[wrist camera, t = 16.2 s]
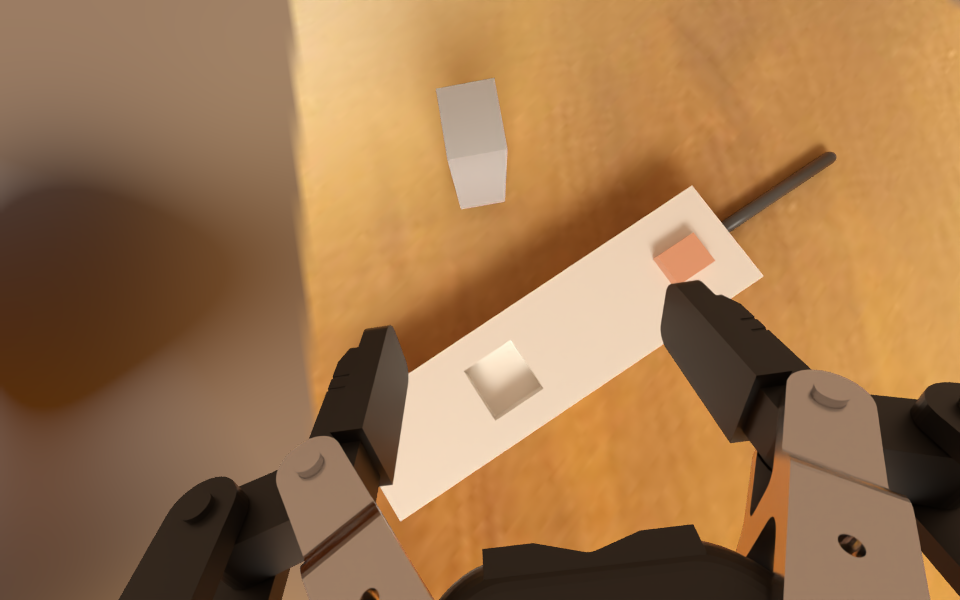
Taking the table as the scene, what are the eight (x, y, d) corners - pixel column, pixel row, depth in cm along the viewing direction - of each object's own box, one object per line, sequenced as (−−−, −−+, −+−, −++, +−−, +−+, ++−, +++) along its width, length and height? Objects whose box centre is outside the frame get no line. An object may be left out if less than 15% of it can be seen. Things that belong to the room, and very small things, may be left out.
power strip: (794, 120, 31) (842, 84, 26) (860, 197, 30) (921, 173, 25) (359, 409, 30) (335, 421, 25) (412, 499, 29) (397, 527, 24)
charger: (454, 165, 32) (435, 88, 22) (495, 158, 31) (494, 77, 22) (462, 216, 31) (447, 159, 22) (504, 208, 31) (507, 148, 21)
